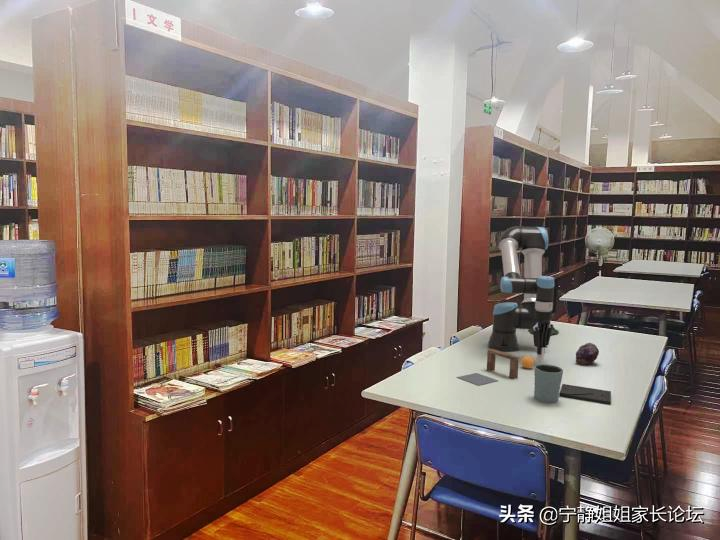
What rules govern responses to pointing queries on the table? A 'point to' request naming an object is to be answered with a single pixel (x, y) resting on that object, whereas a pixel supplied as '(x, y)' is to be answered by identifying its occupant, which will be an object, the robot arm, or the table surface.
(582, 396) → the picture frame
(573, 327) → the table surface
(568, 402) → the table surface
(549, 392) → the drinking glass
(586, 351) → the rock
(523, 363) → the ball
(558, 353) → the table surface
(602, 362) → the table surface
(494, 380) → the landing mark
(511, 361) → the bridge
